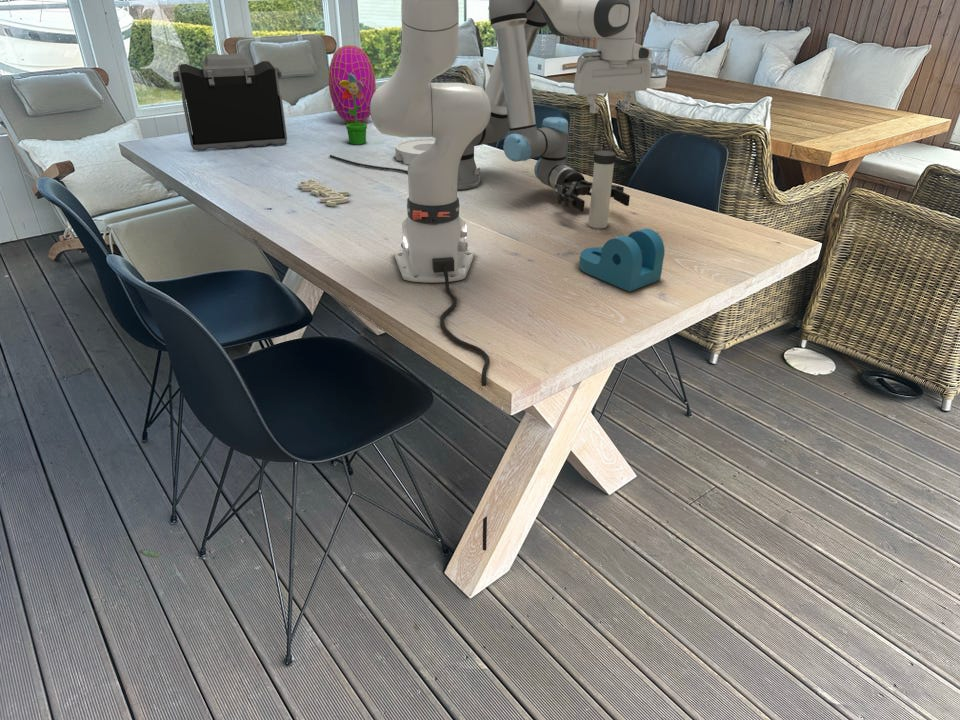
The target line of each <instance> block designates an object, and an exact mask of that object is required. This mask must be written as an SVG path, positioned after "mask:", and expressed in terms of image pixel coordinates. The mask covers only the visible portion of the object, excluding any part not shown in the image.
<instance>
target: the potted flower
mask: <svg viewBox="0 0 960 720" xmlns="http://www.w3.org/2000/svg"><path fill="white" fill-rule="evenodd" d="M348 78H349V81H346V80H342V81H341V82H340V83H339V84H340V85H341V86H342V87H343V88H346V89H347V90H345V91H344V93H343V94H342V97H341V99H348V98H350V97H351V96H352V95H353V100H354V110H349V111H348V112H349V114H351V115H355V123H349V122H348V123H347V124H346V125H345V128H346V131H347V136H348V141H349V144H352V145H363V144H366V143H367V129H368V124H367V123H366V122H365V123H364V122H361V123H357V116H356V110H358V109H359V106H356V103H355V95H356V97H357V98H358V99H359V100H362V98H363V93H362V92H361V91H360V90H361V89H363V84H362V82H361V81H358V82H357V83H356V78H355V76H354V75H352V74H350V73H348Z"/></svg>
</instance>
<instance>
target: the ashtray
mask: <svg viewBox="0 0 960 720" xmlns="http://www.w3.org/2000/svg"><path fill="white" fill-rule="evenodd" d="M435 140H436V139H435V138H416V139H415V138H414V139H408V140H404V141H399V142H398V143H396V144H395V146H394V150H395V151H394V152H395V153H394V154H395V160H396V161H397V162H403V164H404V165H408V166H409V164H410V162H411V161H412V160H413V159H414V158H415V157H416V156H417V155H419V154H421V153H423V152H425V151H427V150H428V149H430V148H431V147H432V146H433V144H434V143H435Z"/></svg>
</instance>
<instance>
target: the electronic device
mask: <svg viewBox="0 0 960 720" xmlns="http://www.w3.org/2000/svg"><path fill="white" fill-rule="evenodd" d="M200 65H201V68H199V67H196V66H193V65H190V64H189V63H188V64H187V63H181V64H180V63H179V64H178V65H177V71H173V72H172V78H173V82H174V83H179V84H180V90H181V101H182V108H183V112H184V117H185V122H186V127H187V132H188V138H189V142H190V146H191V148H192V150H193V151H198V152H203V151H206V150H208V149H215V150H226V149H227V148H232V147H233V148H235V149H244V148H246V147H248V146H256V147H265V146H266V145H275V146H282V145H285V144H286V143H287V141H288V134H287V126H286V119H285V110H284V104H283V97H282V95H281V91H280V84H279V83H280V82H279V79H280V78H283V75H282V71H281V70H280V68H278V67H275V66H274V65H273V64H272V63H271V62H270V61H269V60H262V61H260V62H258V63H256V64H254V65H253V64H252V63H251V61H250V60H249V59H248V58H247V59H246V57H245V56H244V54H243V53H242V52H233V53H229V54H219V53H206V54H205V59H204V60H201V61H200Z"/></svg>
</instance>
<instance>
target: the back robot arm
mask: <svg viewBox="0 0 960 720" xmlns="http://www.w3.org/2000/svg"><path fill="white" fill-rule="evenodd" d="M488 2H489V5H488V6H489V7H488V9H489V10H488V11H489V12H488V13H489V20H490V21H489V22H490V28H492V29H493V30H494V31H495V37H496V45H497V51H498V53H497V56H496V58H495V61H494V63H493V67H492V68H491V71H490V75H489V78H488V80H487V83H486V86H485V89H484V91H485V92H486V94H487V96H488V98H489V101H490V104H491V116H490V120H489V122H488V124H487V126H486V128H485V129H484V130H483V131H482V132H481V133H480V134H478V135H477V136H476V137H475V138H474V139H473V140H472V141H471V142H470V143H469V145H468V146H467V147H466V149H465V151H464V152H463V154H462V157H461V160H460V163H459V168H458V179H457V191H464V190H471V189H474V188H477V187H479V186H480V184H481V182H480V181H481V180H480V179H481V177H480V174H479V173H480V172H481V167H480V166H479V167H477V164H476V161H475V147H479V146H483V145H488V144H493V143H498V142H500V141H503V140H504V141H503V145H502V146H503V152H504V155H505V157H506V158H507V159H508V160H509V161H511V162H515V163H517V162H518V163H519V162H525V161H526V162H527V161H528V160H531V159H534V158H539V159H538V160H537V161H536V163H535V165H534V168H533V172H534V176H535V177H536V179H537V180H539V181H540V182H541V183H542V184H544V185H546V186H548V187H550V188H552V189H553V190H554V194H555V195H556V203H557V205H561V204H563V207H564V208H565V207H566V208H567V207H569V206H571V207H573V208H575V209H577V210H578V211H580V212H585V202H586V201H585V200H583V199H582V198H580V197H579V196H590V197H591V191H592V181H588V180H586V179H585V176H584V175H583V174H582V173H581V172H579V171H577V170H575V169H574V168H572V167H570V166H567V165H566V164H567V151H568V150H567V149H568V139H569V121H568V120H567V119H566V118H564V117H558V116H548V117H545V118H544V119H543V120H542V124H541V127H540V128H539V127H537V123H536V114H535V106H534V105H535V104H534V98H533V89H532V80H531V73H530V64H529V56H530V53H531V51H532V49H533V46H534V43H535V41H536V38H537V36H538V34H539V31H540V30H541V29H544V28H546V27H547V23H546V21H545V18H544V16H543V13H542V11H541V10H540V8H539V7H538V6H537V4H536V3H535V1H534V0H489V1H488ZM329 158H331V159H335V160H338V161H340V162H345V163H348V164H351V165H355V166H359V167H364V168H365V167H366V168H370V169H371V168H372V169H377V170H378V169H379V170H386V171H395V172H401V173H406V174H408V170H406V169H403V168H395V167H387V166H380V165H379V166H378V165H372V164H366V163H360V162H357V161H353V160H349V159H345V158H342V157H338V156H336V155H333V154H329ZM624 190H625V187H624V186H620V185H616V184H612V186H611V196H610V198H612V199H613V200H614V201H616V202H618V203H620V204H622V205H623V206H626V207H629V206H630V199H631V198H630V197H631V195H629V194H627V193H625V192H624Z"/></svg>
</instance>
